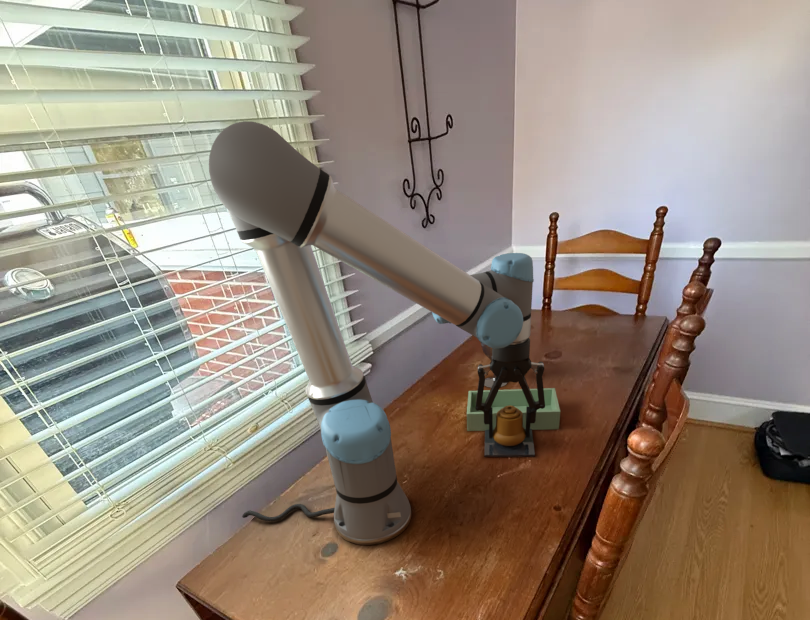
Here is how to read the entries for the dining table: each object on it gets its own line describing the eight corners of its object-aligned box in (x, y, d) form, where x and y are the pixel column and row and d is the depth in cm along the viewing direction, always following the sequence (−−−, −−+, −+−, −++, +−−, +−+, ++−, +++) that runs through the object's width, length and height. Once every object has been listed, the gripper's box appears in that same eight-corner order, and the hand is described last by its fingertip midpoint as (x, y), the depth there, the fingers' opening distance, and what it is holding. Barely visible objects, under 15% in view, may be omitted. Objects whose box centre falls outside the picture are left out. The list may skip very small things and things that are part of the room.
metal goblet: (514, 383, 134) (516, 331, 125) (489, 390, 132) (489, 338, 123) (499, 373, 140) (500, 323, 131) (475, 380, 138) (474, 330, 130)
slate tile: (484, 457, 107) (484, 455, 106) (485, 431, 115) (484, 429, 115) (534, 456, 105) (535, 454, 104) (531, 430, 113) (531, 428, 113)
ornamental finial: (485, 438, 111) (510, 426, 113) (507, 451, 105) (532, 439, 108) (485, 407, 106) (510, 396, 109) (508, 420, 101) (534, 408, 103)
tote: (467, 431, 117) (466, 413, 114) (469, 407, 126) (468, 390, 123) (558, 429, 113) (560, 411, 110) (553, 404, 122) (555, 387, 119)
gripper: (561, 328, 96) (553, 425, 110) (461, 334, 100) (465, 427, 114) (566, 342, 90) (557, 443, 104) (459, 348, 94) (463, 444, 108)
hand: (509, 434), depth 109 cm, fingers closed on ornamental finial, 7 cm apart
